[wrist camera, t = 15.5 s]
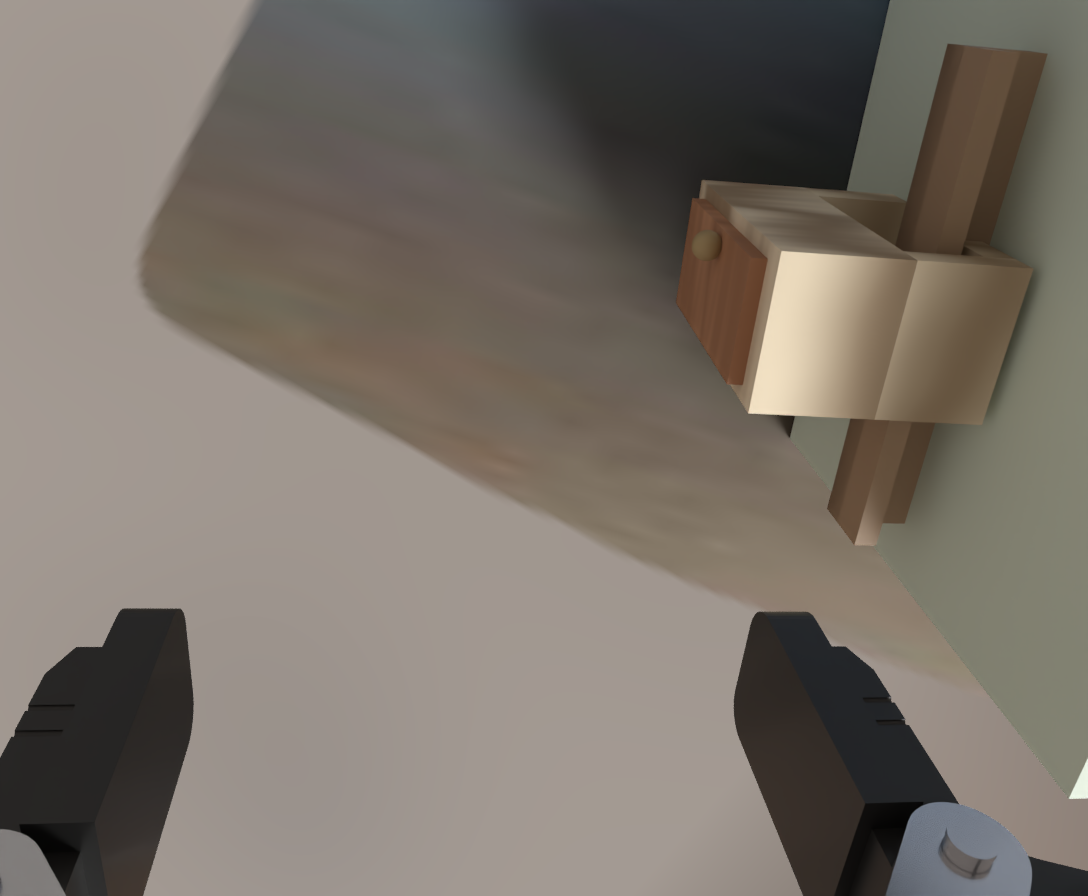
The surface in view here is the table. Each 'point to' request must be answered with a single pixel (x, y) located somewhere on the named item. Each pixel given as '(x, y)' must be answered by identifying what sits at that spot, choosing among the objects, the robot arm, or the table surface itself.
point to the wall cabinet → (843, 306)
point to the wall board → (1028, 367)
